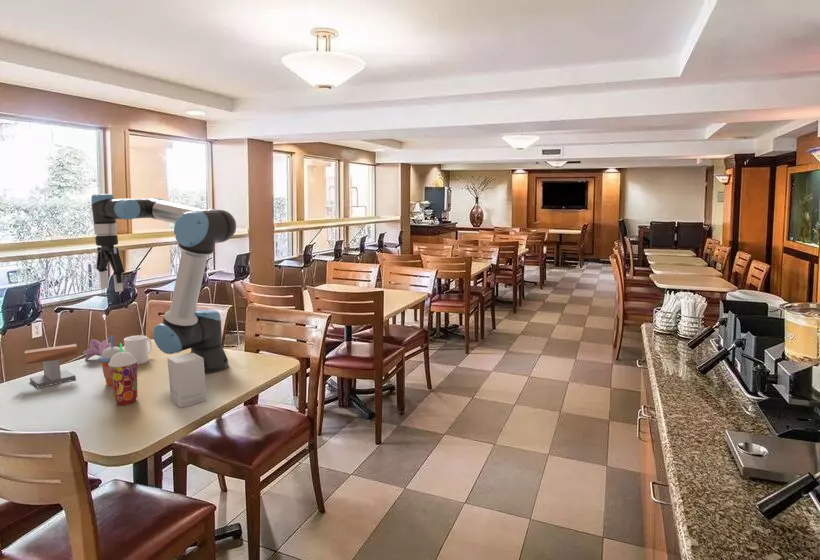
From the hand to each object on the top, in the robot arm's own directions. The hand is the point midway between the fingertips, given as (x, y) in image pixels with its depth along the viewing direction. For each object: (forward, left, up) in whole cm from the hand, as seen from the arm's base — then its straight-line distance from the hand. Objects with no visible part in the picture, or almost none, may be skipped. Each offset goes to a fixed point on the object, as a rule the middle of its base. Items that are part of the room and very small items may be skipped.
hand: (112, 289), depth 217 cm
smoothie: (-41, +13, -32) cm, 53 cm away
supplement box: (-56, -1, -32) cm, 64 cm away
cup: (+3, -10, -32) cm, 33 cm away
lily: (+18, +1, -32) cm, 37 cm away
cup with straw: (-19, +8, -32) cm, 38 cm away
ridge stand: (+3, +22, -31) cm, 39 cm away
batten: (+2, +22, -23) cm, 32 cm away
